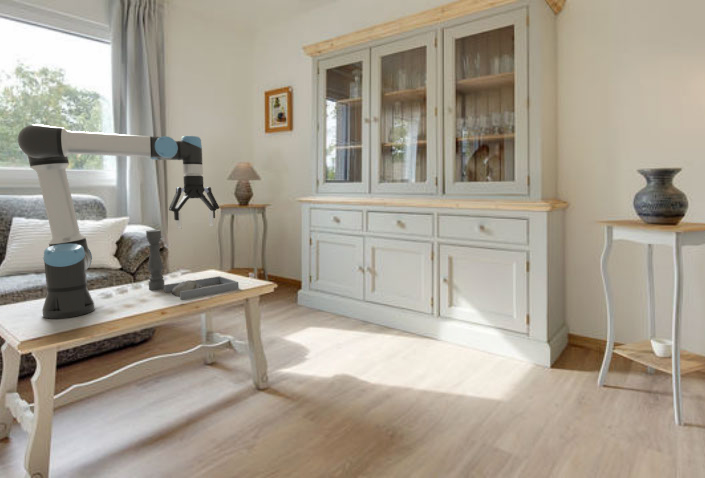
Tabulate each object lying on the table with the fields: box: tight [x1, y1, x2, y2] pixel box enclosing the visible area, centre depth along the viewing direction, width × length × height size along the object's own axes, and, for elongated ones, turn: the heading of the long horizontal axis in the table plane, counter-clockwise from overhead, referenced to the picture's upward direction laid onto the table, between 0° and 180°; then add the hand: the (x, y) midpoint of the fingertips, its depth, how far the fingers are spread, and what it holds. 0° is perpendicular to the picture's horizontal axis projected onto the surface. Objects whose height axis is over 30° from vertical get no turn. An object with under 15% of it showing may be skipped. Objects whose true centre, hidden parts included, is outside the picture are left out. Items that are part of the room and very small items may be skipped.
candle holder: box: [145, 229, 165, 291], centre depth 184 cm, size 6×6×25 cm
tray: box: [164, 275, 240, 300], centre depth 181 cm, size 25×17×3 cm
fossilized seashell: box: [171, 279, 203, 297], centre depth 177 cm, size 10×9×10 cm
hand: (195, 227), depth 177 cm, fingers open, 13 cm apart
